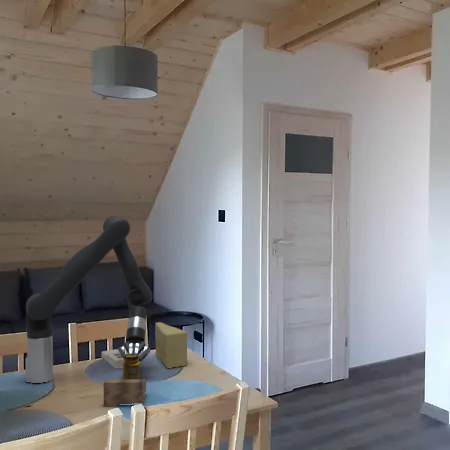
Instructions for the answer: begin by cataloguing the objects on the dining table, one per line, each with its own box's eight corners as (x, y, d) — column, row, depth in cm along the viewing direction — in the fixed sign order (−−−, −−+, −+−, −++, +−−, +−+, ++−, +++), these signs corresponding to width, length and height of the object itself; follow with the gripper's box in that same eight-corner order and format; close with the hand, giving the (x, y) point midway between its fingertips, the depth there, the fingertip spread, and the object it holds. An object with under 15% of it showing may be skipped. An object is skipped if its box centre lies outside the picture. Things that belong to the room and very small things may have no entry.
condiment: (142, 383, 194) (141, 352, 193) (139, 391, 185) (139, 359, 185) (122, 383, 193) (122, 352, 193) (119, 392, 185) (118, 359, 184)
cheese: (146, 355, 229) (146, 322, 228) (166, 352, 234) (166, 320, 233) (166, 369, 210) (166, 333, 209) (187, 366, 215) (187, 330, 214)
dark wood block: (103, 406, 172) (103, 382, 172) (109, 394, 183) (109, 372, 182) (142, 405, 173) (142, 382, 172) (145, 394, 183) (145, 372, 183)
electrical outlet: (117, 347, 229) (131, 357, 214) (117, 356, 229) (131, 367, 214) (101, 349, 226) (114, 360, 210) (101, 358, 226) (115, 370, 210)
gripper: (118, 326, 202) (113, 366, 190) (152, 325, 203) (148, 366, 191) (120, 335, 208) (115, 375, 196) (153, 335, 208) (150, 375, 197)
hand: (132, 371), depth 194 cm, fingers closed
